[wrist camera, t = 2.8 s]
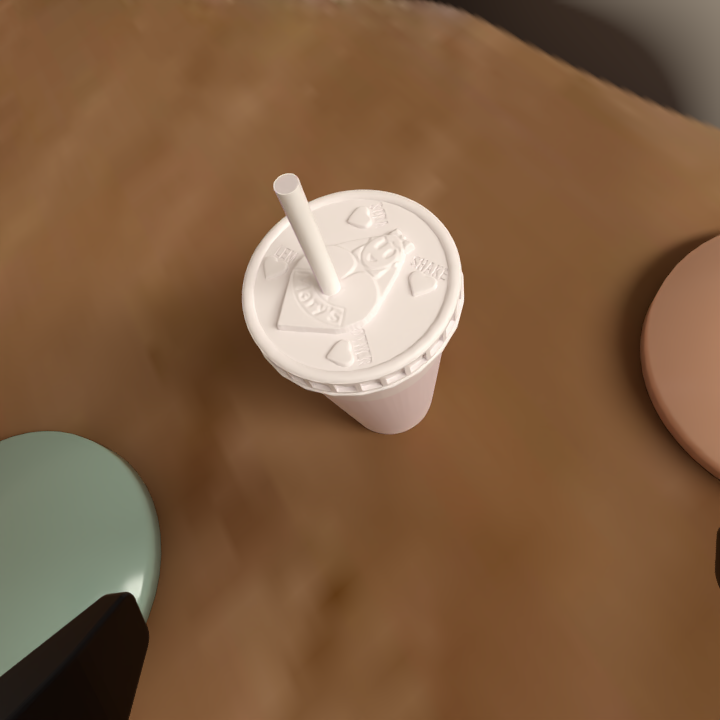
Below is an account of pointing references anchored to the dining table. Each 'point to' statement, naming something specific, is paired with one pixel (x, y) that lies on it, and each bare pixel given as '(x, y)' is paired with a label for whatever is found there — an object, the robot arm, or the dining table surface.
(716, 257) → the terracotta dish
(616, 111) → the dining table surface
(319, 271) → the smoothie
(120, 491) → the green dish
